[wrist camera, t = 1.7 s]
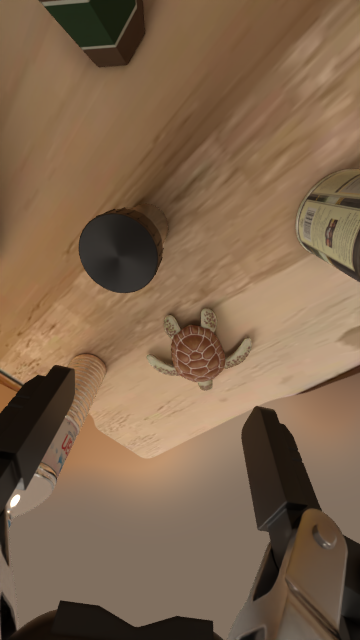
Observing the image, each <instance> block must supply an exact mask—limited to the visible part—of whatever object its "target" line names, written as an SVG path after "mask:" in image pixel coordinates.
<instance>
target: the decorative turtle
mask: <svg viewBox="0 0 360 640" xmlns="http://www.w3.org/2000/svg"><path fill="white" fill-rule="evenodd" d="M216 326H217V318H216V315H215V314H214V312H213V311H212V310H211V309H208V308H204V309H203V310H202V312H201V326H197V325H189V326H186V327H184V328H183V329H182V330H181V329H180V327H179V326H178V323H177V321H176V319H175V318H174V317H173V316H172V315H168V316H167V317H166V318H165V320H164V329H165V331H166V333H167V334H168V335H169V337H170V338H171V339H172V344H171V346H172V348H171V351H172V358H173V364H174V366H171V365H168V364H166V363H164V362H162V361H160V360H158V359H157V358H156V357H154V356H153V355H152V354H149V355H147V359H148V361H149V363H150V364H151V366H153V367H154V368H155V369H156V370H158V371H159V372H161V373H162V374H166V375H172V376H182V377H184V378H186V379H188V380H191V381H194V382H198V384H199V387H200V389H201V390H210V389H211V388H212V379H214V378H215V377H216V376H217V375H218V374H219V373H220V372H221V371H222V370H223V369H227V368H230V367H233V366H236V365H238V364H240V363H241V362H243V361H244V360H245V358H246V357H247V356H248V354H249V352H250V350H251V346H252V344H251V339H250V338H245V339H244V340H243V342H242V344H241V345H240V347H239V348H238V349H237V350H236V351H235V352H234V353H233V354H232V355H231V356H230V357H228V358H225V355H224V352H223V350H222V346H221V345H220V342H219V340H218V339H217V337H216V336H215V335H214V331H215V329H216Z"/></svg>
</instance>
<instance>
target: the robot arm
mask: <svg viewBox="0 0 360 640" xmlns="http://www.w3.org/2000/svg"><path fill="white" fill-rule="evenodd" d="M74 396H75V369H74V368H69V367H64V366H59V365H55V366H53V367H52V369H51V370H50V371H49V373H48V374H47V375H46V376H41V375H37V376H36V377H34V378H33V379H31V380H29V381H28V382H26V383H25V384H24V385H23V386H22V388H21V389H20V390H19V391H18V392H17V394H16V396H15V397H14V398H13V399H12V400H11V401H10V402H9V403H8V406H6V407H5V408H4V409H3V411H2V412H1V413H0V640H223V639H222V638H221V637H220V636H219V635H217V634H216V633H215V632H213V621H210V620H202V619H195V618H187V617H180V616H175V617H172V618H168V619H165V620H162V621H158V622H155V623H152V624H148V625H145V626H141V627H134V626H132V625H130V624H128V623H127V622H125V621H124V620H122V619H120V618H119V617H117V616H115V615H113V614H112V613H110V612H109V611H107V610H105V609H104V608H102V607H100V606H98V605H89V604H83V603H75V602H68V601H60V603H59V606H58V609H57V610H53V611H49V612H47V613H45V614H43V615H40V616H38V617H37V618H35V619H33V620H32V621H30V622H28V623H27V624H25V625H24V626H23V627H22V628H20V629H19V623H18V611H17V600H16V589H15V582H14V577H13V571H12V563H11V550H10V539H9V538H10V537H9V524H8V511H7V502H8V500H9V499H10V497H11V495H12V494H13V492H14V490H15V489H18V490H24V491H26V489H27V487H28V485H29V483H30V481H31V479H32V478H33V476H34V474H35V472H36V470H37V468H38V467H39V465H40V463H41V461H42V459H43V457H44V455H45V454H46V452H47V450H48V448H49V446H50V444H51V443H52V441H53V439H54V437H55V435H56V433H57V431H58V430H59V428H60V426H61V424H62V422H63V420H64V419H65V417H66V415H67V413H68V411H69V409H70V407H71V405H72V403H73V400H74ZM242 445H243V450H244V455H245V462H246V467H247V472H248V478H249V484H250V489H251V495H252V500H253V506H254V512H255V517H256V523H257V528H258V530H260V531H267V532H269V535H270V540H271V541H270V542H269V544H268V546H267V548H266V551H265V554H264V556H263V559H262V561H261V564H260V567H259V569H258V572H257V575H256V577H255V580H254V583H253V585H252V588H251V590H250V593H249V596H248V598H247V600H246V602H245V604H244V606H243V608H242V609H241V610H240V612H239V613H238V615H237V617H236V619H235V621H234V623H233V625H232V628H231V630H230V633H229V635H228V638H227V640H360V544H359V543H357V542H355V541H353V540H351V539H350V538H348V537H346V536H344V535H343V534H342V532H341V531H340V529H339V527H338V526H337V525H336V523H335V522H334V521H333V520H332V519H331V518H330V517H329V516H328V515H326V514H325V513H324V512H322V510H321V508H320V505H319V503H318V500H317V498H316V495H315V493H314V490H313V487H312V485H311V482H310V479H309V477H308V474H307V472H306V469H305V467H304V464H303V463H302V458H301V456H300V453H299V452H298V448H297V445H296V443H295V440H294V437H293V436H292V434H291V433H290V431H289V430H288V429H287V427H286V426H285V425H284V424H280V423H279V420H278V417H277V414H276V412H275V411H274V410H273V409H269V408H264V407H259V406H256V407H254V409H253V411H252V413H251V414H250V416H249V417H248V419H247V421H246V422H245V424H244V426H243V429H242Z"/></svg>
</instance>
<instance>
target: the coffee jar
mask: <svg viewBox="0 0 360 640" xmlns="http://www.w3.org/2000/svg"><path fill="white" fill-rule="evenodd" d="M130 209H132V210H134V209H135V211H138V212H140V213H142V214H145V216H146V217H148V218H149V219H150V220H151V221H153V223H154V225H155V226H156V227H157V229H158V231H159V233H160V236H161V239H162V243H163V244H164V242H165V240H166V238H167V235H168V230H169V226H168V221H167V218H166V216H165V214H164V213H163V212H162V211H161V210H160V209H159V208H158V207H156V206H154V205H152V204H147V203H145V204H139V205H137V206H135V207H133V208H130Z"/></svg>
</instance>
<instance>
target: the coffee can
mask: <svg viewBox="0 0 360 640" xmlns="http://www.w3.org/2000/svg"><path fill="white" fill-rule="evenodd" d="M296 234H297V238H298V240H299V242H300V244H301V245H302V246H303V247H304V248H305V249H306V250H307V251H308V252H310V253H312V254H315V255H316V256H318V257H319V258H321V259H323V260H324V261H326V262H328V263H329V264H331V265H333V266H334V267H336V268H337V269H339V270H341V271H342V272H344V273H345V274H347V275H349V276H350V277H352V278H354V279H355V280H357V281H359V282H360V169H346V170H341V171H338V172H335V173H333V174H330V175H329V176H327V177H325V178H323V179H322V180H321V181H320V182H318V183H317V184H316V185H315V186H314V187H313V188H312V189H311V190H310V191H309V192H308V194H307V195H306V196H305V198H304V199H303V201H302V203H301V205H300V207H299V210H298V213H297V217H296Z"/></svg>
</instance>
